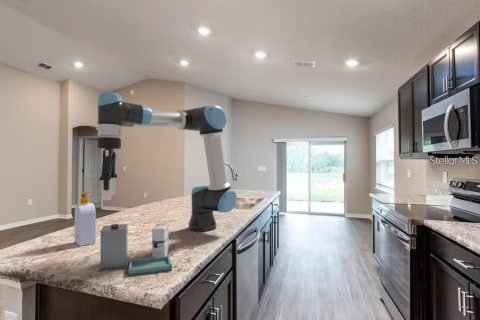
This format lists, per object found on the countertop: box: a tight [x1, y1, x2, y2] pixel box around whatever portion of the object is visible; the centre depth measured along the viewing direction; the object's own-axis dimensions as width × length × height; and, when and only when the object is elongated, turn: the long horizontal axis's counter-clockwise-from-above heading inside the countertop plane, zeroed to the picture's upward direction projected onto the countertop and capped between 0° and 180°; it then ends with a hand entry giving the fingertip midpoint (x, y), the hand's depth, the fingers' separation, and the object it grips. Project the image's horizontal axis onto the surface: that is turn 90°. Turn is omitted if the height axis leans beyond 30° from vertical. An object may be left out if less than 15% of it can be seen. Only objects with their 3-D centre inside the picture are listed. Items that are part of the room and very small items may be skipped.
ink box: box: [151, 223, 170, 258], centre depth 107 cm, size 8×5×12 cm, turn 5°
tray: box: [128, 255, 173, 277], centre depth 95 cm, size 14×10×2 cm
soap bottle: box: [74, 191, 97, 247], centre depth 124 cm, size 9×7×23 cm
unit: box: [98, 223, 130, 272], centre depth 98 cm, size 9×9×14 cm
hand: (108, 197), depth 97 cm, fingers open, 13 cm apart
